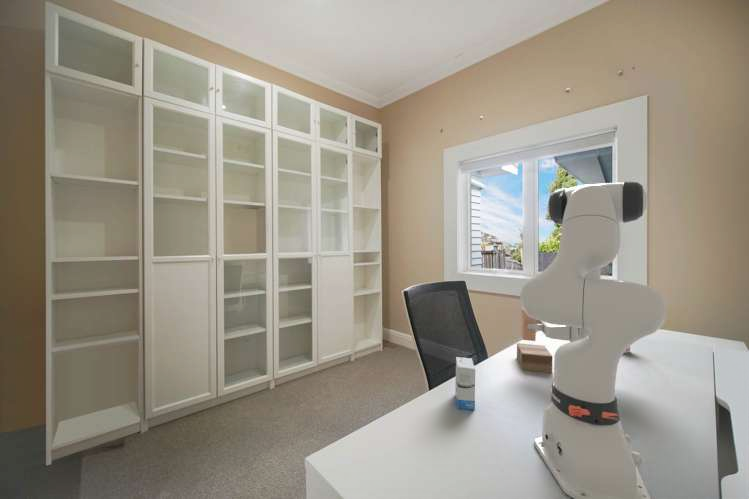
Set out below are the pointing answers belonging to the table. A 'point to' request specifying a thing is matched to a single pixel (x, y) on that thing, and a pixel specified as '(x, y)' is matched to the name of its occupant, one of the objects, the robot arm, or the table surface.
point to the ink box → (465, 383)
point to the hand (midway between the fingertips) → (525, 323)
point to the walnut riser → (534, 357)
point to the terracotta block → (525, 332)
